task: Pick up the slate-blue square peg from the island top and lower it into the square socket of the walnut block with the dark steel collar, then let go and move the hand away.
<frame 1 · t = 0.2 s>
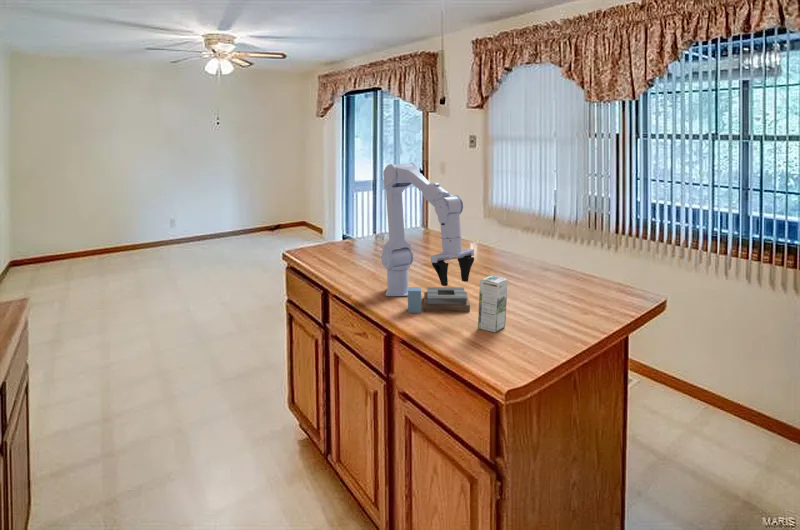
hand: (454, 283, 158), 10 cm above the countertop, tool pointing down, fingers open, 7 cm apart
syrup box: (491, 328, 152), on the countertop
blue peg: (414, 310, 167), on the countertop
socket block: (446, 304, 172), on the countertop
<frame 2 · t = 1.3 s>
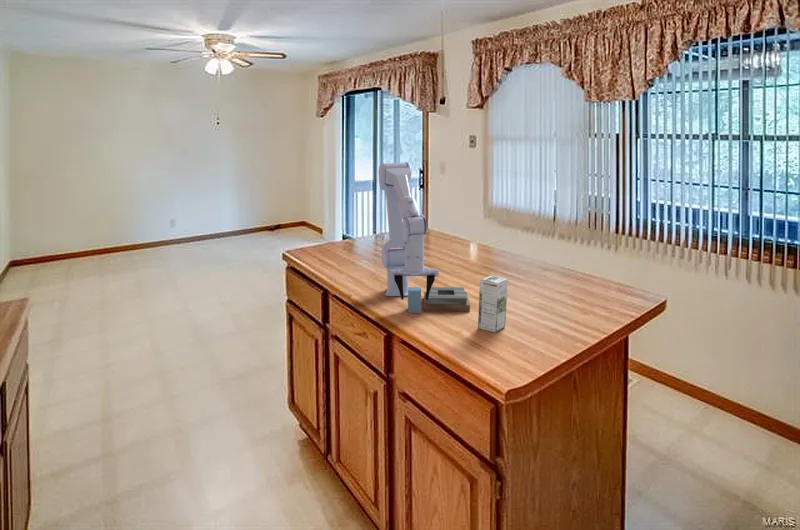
hand: (414, 298, 166), 4 cm above the countertop, tool pointing down, fingers open, 7 cm apart
nothing on the countertop moved.
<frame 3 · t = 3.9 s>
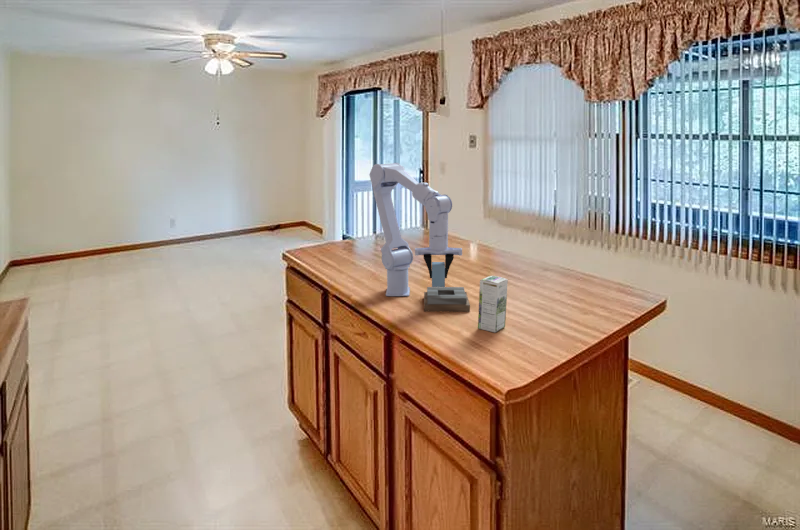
hand: (438, 277, 169), 9 cm above the countertop, tool pointing down, fingers closed on blue peg, 4 cm apart
blue peg: (438, 285, 169), point 7 cm above the countertop, touching gripper
everything else where it was.
when the fingers open (5 cm above the countertop, at t = 5.6 s): blue peg stays where it is, resting on socket block.
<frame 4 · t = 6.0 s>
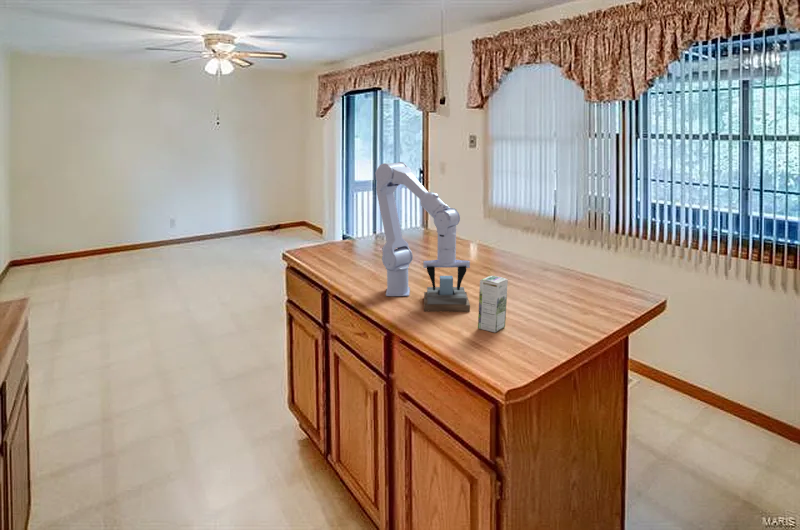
hand: (446, 289, 171), 5 cm above the countertop, tool pointing down, fingers open, 7 cm apart
blue peg: (446, 298, 172), point 2 cm above the countertop, touching socket block
everything else where it was.
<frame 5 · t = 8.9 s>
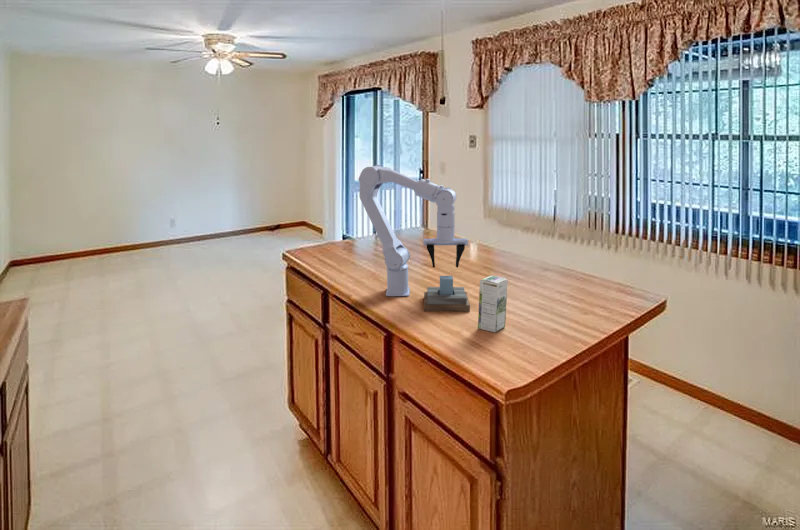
hand: (445, 266, 178), 10 cm above the countertop, tool pointing down, fingers open, 7 cm apart
nothing on the countertop moved.
at the end: blue peg 0.1 cm off-centre on the socket block, point 2.0 cm above the socket block's base; blue peg tilted 0°; the gripper is holding nothing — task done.
